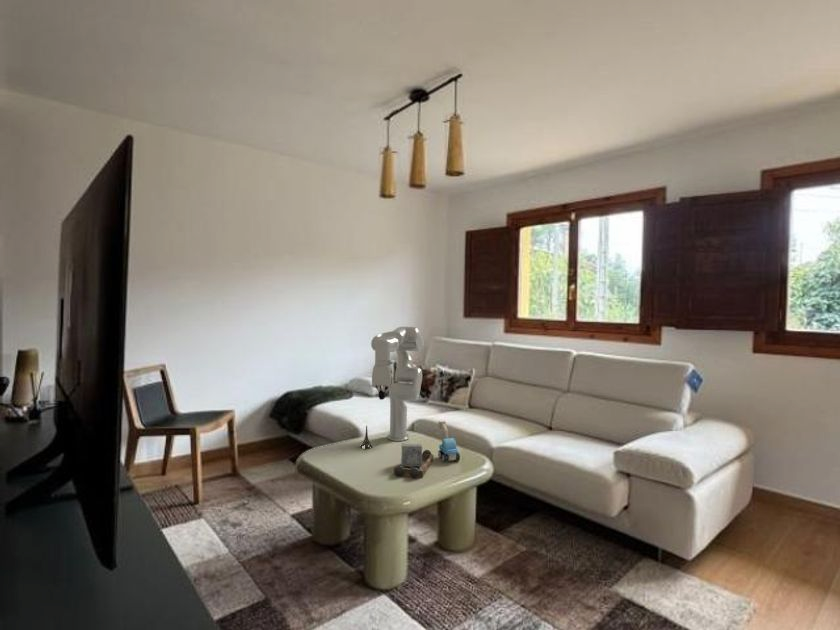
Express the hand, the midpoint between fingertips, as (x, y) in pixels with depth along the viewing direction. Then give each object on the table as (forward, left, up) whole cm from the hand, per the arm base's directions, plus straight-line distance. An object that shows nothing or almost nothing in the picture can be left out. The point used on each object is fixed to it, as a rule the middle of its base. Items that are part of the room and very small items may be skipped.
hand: (381, 398), depth 231 cm
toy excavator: (-8, +33, -29) cm, 45 cm away
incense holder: (+8, +18, -29) cm, 36 cm away
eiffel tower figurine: (-10, -11, -30) cm, 33 cm away
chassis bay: (+10, +20, -29) cm, 37 cm away
